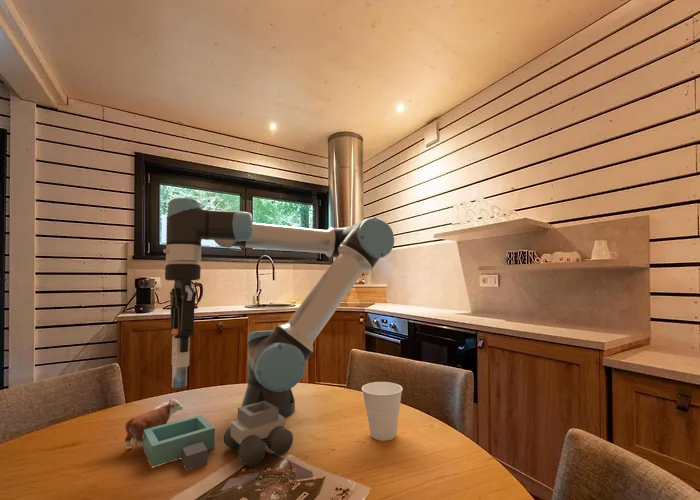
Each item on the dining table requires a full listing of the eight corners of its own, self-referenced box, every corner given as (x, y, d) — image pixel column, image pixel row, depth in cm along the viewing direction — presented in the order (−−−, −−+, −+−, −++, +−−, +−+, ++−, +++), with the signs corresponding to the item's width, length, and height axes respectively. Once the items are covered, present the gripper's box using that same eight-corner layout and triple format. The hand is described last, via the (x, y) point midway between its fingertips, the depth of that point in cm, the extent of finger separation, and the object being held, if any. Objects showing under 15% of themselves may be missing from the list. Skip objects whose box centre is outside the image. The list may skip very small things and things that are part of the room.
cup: (403, 447, 73) (401, 395, 74) (359, 444, 75) (358, 393, 76) (405, 427, 82) (403, 382, 84) (366, 425, 84) (364, 381, 86)
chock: (182, 462, 69) (182, 447, 69) (202, 456, 71) (202, 441, 72) (186, 472, 65) (186, 456, 66) (207, 465, 68) (207, 449, 68)
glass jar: (168, 386, 76) (170, 328, 77) (185, 382, 78) (187, 327, 80) (172, 389, 73) (174, 330, 74) (190, 386, 75) (192, 328, 77)
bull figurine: (184, 430, 84) (185, 397, 85) (129, 455, 72) (130, 416, 73) (173, 427, 86) (174, 395, 87) (117, 451, 74) (119, 413, 75)
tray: (142, 449, 74) (143, 429, 75) (200, 432, 82) (201, 414, 83) (151, 468, 66) (152, 446, 67) (214, 447, 74) (214, 427, 75)
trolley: (242, 470, 65) (243, 422, 66) (223, 450, 73) (223, 407, 74) (292, 450, 73) (292, 407, 73) (270, 433, 81) (270, 395, 82)
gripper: (158, 265, 82) (154, 362, 80) (174, 261, 70) (170, 375, 68) (190, 265, 87) (188, 357, 85) (210, 262, 75) (208, 368, 73)
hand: (180, 364), depth 76 cm, fingers closed on glass jar, 3 cm apart
